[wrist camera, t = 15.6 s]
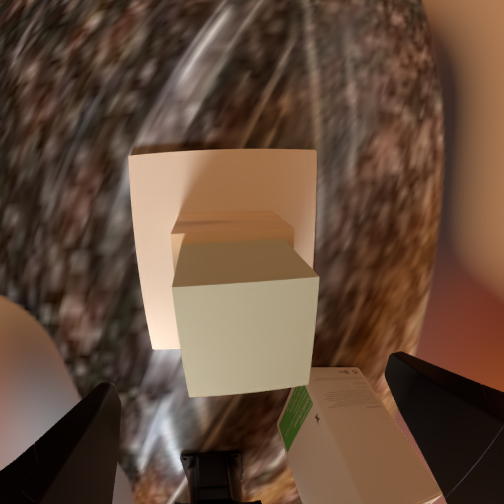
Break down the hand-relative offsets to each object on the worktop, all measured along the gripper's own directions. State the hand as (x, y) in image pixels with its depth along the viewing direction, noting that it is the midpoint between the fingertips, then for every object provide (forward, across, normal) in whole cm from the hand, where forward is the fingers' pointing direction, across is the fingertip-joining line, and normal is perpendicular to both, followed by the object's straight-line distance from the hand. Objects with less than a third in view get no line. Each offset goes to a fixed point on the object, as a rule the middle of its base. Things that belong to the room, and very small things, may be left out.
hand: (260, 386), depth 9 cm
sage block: (+7, 0, 0) cm, 7 cm away
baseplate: (+13, 0, 0) cm, 13 cm away
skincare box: (+13, -8, +15) cm, 22 cm away
